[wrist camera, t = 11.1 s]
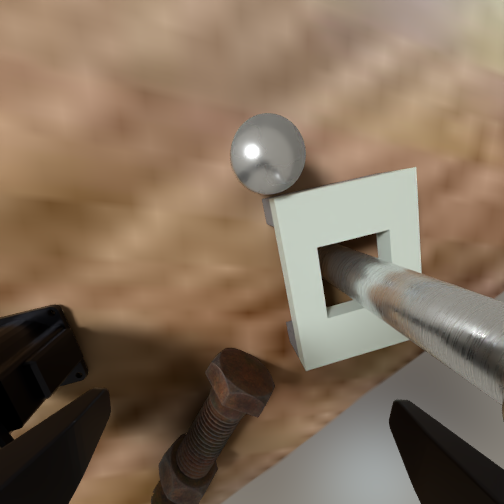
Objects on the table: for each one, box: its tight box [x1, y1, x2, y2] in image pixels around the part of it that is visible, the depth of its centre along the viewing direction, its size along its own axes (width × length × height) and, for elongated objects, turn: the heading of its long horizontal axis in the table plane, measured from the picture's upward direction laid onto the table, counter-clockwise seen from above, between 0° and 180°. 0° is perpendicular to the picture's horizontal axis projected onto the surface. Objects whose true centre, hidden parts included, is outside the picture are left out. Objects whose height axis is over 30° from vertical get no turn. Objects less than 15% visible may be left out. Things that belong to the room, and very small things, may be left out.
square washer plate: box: [262, 167, 421, 371], centre depth 19 cm, size 10×13×4 cm
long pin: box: [318, 243, 504, 420], centre depth 14 cm, size 4×4×16 cm
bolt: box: [151, 349, 275, 504], centre depth 21 cm, size 6×5×15 cm
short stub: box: [230, 113, 306, 195], centre depth 16 cm, size 4×4×5 cm
